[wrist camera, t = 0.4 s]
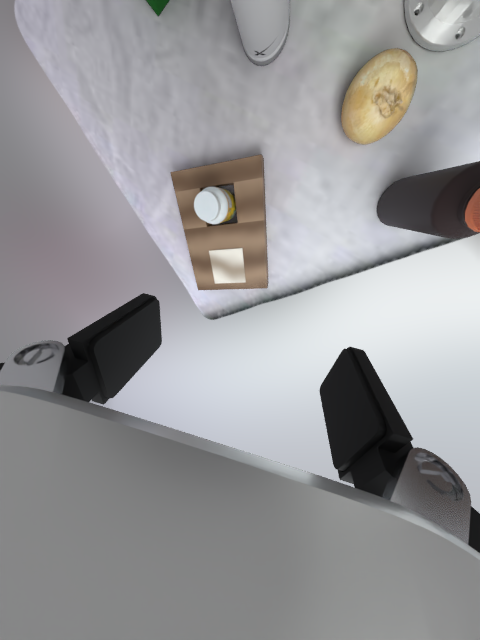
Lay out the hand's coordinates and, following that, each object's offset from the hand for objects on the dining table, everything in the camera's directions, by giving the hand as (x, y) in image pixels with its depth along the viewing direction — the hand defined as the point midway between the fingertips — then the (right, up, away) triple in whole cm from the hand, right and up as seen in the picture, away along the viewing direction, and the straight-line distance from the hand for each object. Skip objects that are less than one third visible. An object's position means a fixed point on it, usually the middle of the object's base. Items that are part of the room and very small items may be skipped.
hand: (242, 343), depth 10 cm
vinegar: (+26, +21, +22) cm, 40 cm away
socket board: (-3, +19, +30) cm, 35 cm away
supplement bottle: (-3, +24, +27) cm, 36 cm away
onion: (+18, +31, +17) cm, 40 cm away
